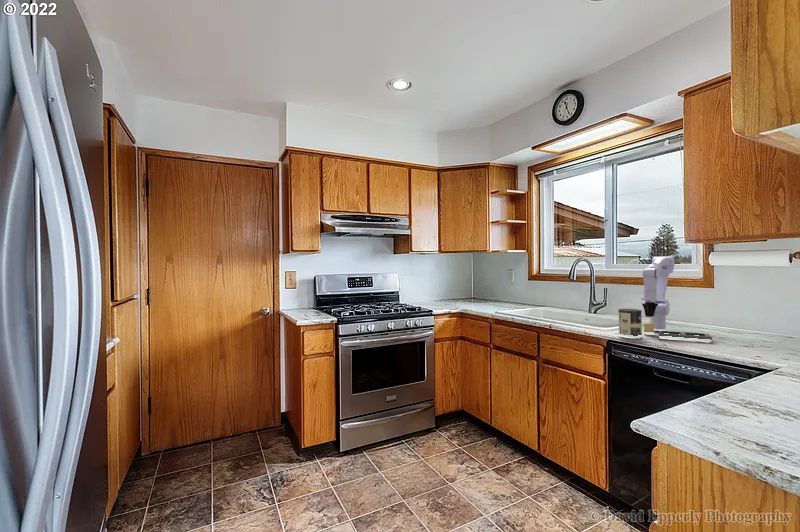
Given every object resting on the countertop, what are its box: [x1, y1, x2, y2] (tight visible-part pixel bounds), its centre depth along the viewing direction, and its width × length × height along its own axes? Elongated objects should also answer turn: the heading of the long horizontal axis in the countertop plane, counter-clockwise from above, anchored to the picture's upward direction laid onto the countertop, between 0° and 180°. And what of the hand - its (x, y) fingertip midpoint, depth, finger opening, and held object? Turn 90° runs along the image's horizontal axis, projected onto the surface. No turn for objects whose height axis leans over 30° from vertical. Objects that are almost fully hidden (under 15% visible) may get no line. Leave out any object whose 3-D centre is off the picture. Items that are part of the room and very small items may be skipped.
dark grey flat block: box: [657, 330, 713, 341], centre depth 189 cm, size 10×20×3 cm, turn 59°
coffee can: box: [618, 308, 643, 336], centre depth 196 cm, size 10×10×14 cm
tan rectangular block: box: [643, 322, 655, 333], centre depth 202 cm, size 4×4×6 cm
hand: (649, 316), depth 201 cm, fingers open, 7 cm apart
